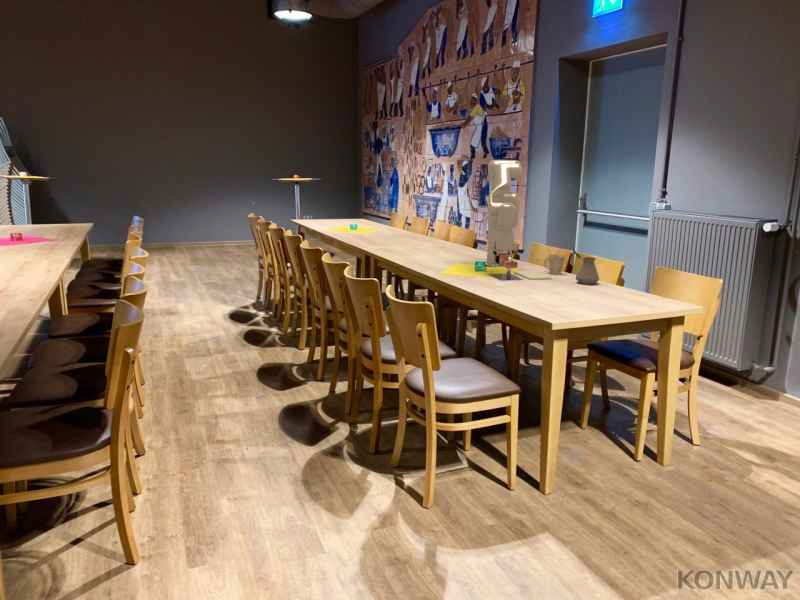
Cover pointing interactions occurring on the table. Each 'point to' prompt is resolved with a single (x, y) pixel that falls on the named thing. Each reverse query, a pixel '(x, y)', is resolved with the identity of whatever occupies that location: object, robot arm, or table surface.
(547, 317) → the table surface
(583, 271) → the coffee pot
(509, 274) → the stand
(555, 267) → the mug
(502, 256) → the link
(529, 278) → the board
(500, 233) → the robot arm
